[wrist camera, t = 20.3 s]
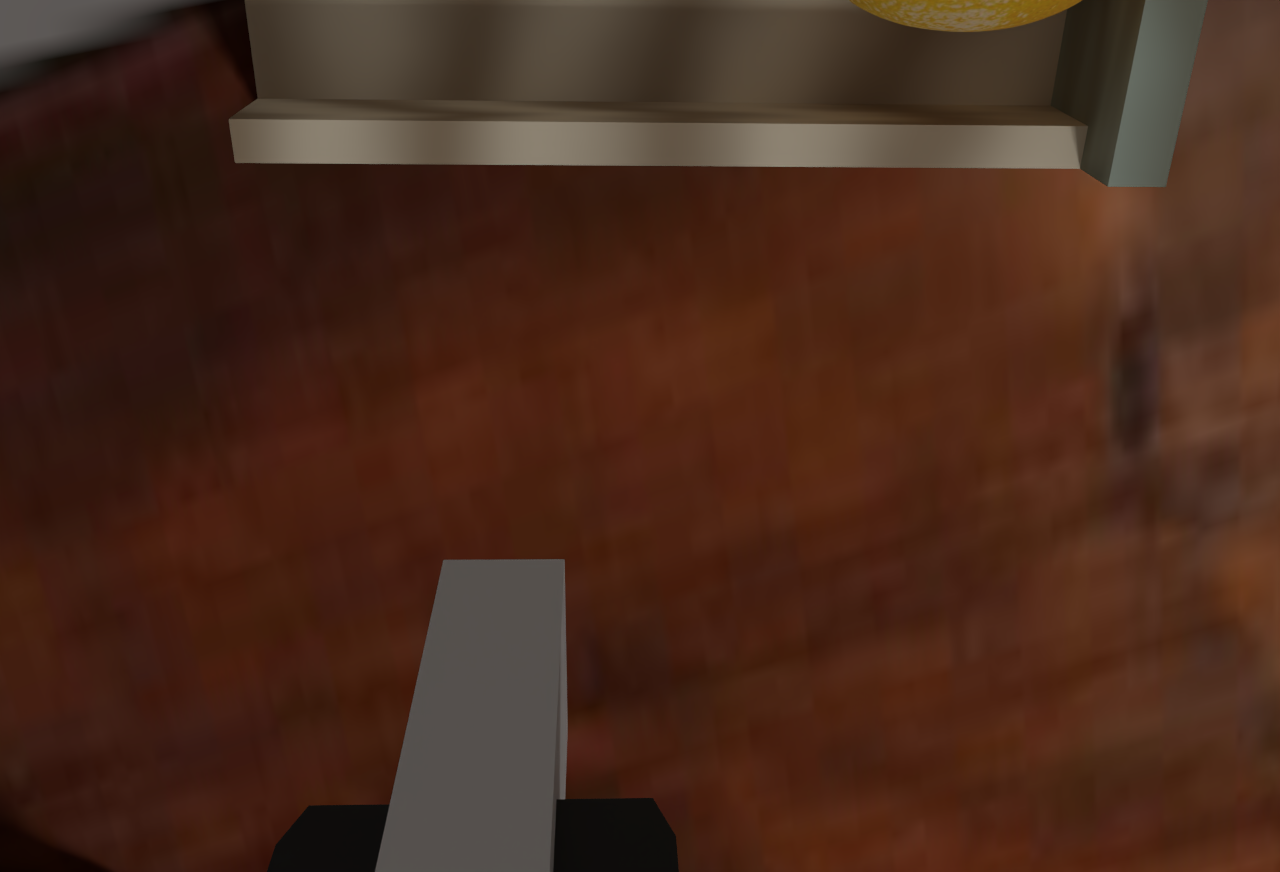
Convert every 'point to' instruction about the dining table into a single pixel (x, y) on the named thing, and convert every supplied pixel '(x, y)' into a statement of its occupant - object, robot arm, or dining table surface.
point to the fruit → (964, 13)
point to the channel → (715, 85)
